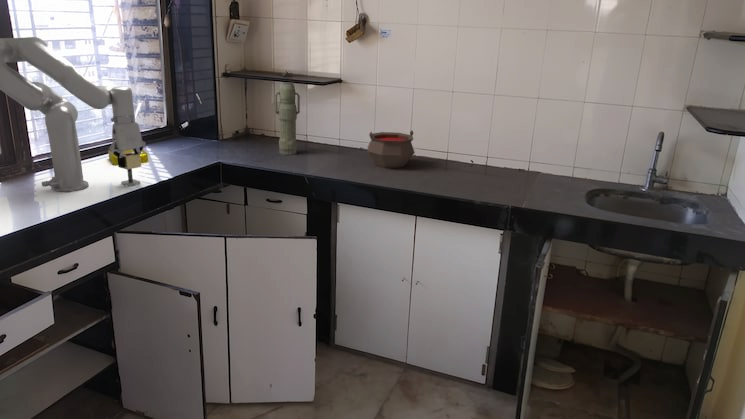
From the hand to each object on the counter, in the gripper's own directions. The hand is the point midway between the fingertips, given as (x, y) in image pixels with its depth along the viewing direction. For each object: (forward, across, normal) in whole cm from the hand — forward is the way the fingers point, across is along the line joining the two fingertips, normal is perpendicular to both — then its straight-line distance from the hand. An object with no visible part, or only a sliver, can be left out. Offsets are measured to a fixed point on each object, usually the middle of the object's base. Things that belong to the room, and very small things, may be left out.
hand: (129, 164), depth 220 cm
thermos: (+9, +82, -8) cm, 83 cm away
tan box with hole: (+1, 0, 0) cm, 1 cm away
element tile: (+8, +21, +34) cm, 41 cm away
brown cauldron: (+9, +98, -59) cm, 115 cm away
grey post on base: (+8, 0, 0) cm, 8 cm away
